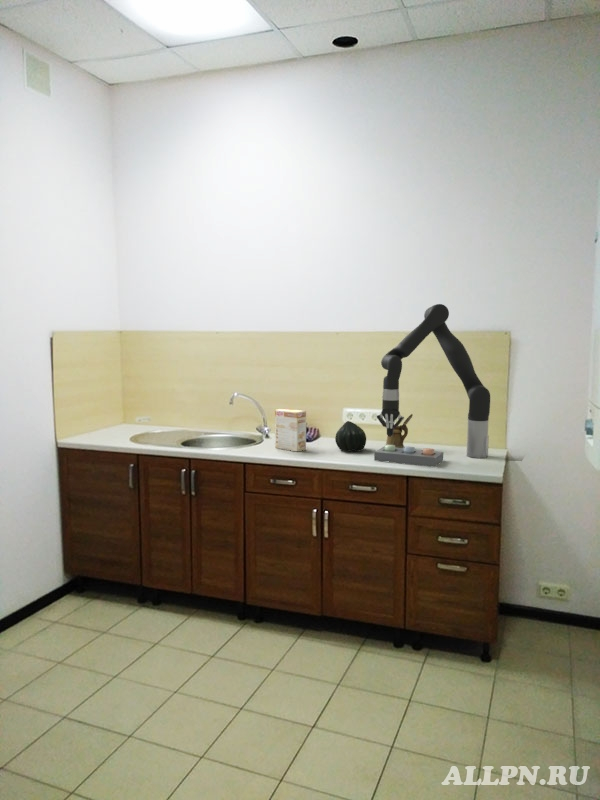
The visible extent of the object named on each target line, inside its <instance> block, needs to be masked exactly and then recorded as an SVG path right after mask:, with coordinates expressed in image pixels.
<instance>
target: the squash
mask: <svg viewBox="0 0 600 800" xmlns="http://www.w3.org/2000/svg"><path fill="white" fill-rule="evenodd" d="M335 443H336V445H337V448H338V449H339V450H340V451H343V452H349V451H355V452H361V451H363V450H364V449H365V447H366V444H367V435H366V433H365V431H364V429H363V428H362V427H360V426H359V425H357V424H356V423H354V422H352V421H350V420H348V421H345V422H344V423H343V425H341V426H340V427H339V429H338V430H337V432H336V434H335Z"/></svg>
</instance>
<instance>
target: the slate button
mask: <svg viewBox="0 0 600 800" xmlns="http://www.w3.org/2000/svg"><path fill="white" fill-rule="evenodd" d="M414 449H415V447H414V446H404V453H412V454H413V453H414Z"/></svg>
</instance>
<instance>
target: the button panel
mask: <svg viewBox="0 0 600 800" xmlns="http://www.w3.org/2000/svg"><path fill="white" fill-rule="evenodd" d="M373 456H374V457H373V460H379V461H378V462H383V461H389V462H388V463H393V462H396V463H395V464H402V463H405V464H404V465H412V464H414V465H413V466H422V465H424V467H431V466H436V467H438V465H440V464H441V463H442V462H443V461H444V451H439V450H438V451H437V450H434V455H433V456H432V455H423V449H417V448H414V453H413V454H412V453H404V448H397V447H395V451H394V452H391V451H385V445H384V446H383V447H381V448H379V449H377V450H375V451H374V455H373ZM441 461H442V462H441ZM440 462H441V463H440ZM439 463H440V464H439Z"/></svg>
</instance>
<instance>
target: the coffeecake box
mask: <svg viewBox="0 0 600 800" xmlns="http://www.w3.org/2000/svg"><path fill="white" fill-rule="evenodd" d="M274 412H275V413H274V419H275V420H274V423H275V424H274V425H275V426H274V429H275V430H274V431H275V433H274V435H275V436H274V438H275V443H274V445H275V446H274V447H275V449H279V450H284V451H285V450H286V451H290V450H291V451H292V452H295V451H298V452H302V450H303V451H306V450H307V411H306V410H300V409H292V408H278V409H277V408H276V409H275V410H274Z"/></svg>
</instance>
